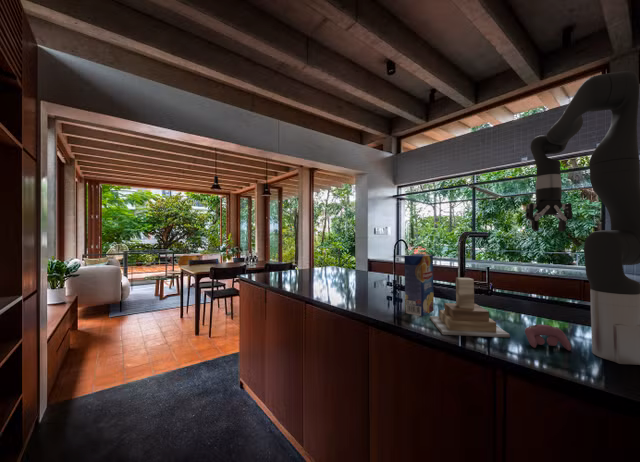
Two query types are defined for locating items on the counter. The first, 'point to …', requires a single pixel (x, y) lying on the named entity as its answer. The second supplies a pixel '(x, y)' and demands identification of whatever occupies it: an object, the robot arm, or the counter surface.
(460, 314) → the platform
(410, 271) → the juice carton
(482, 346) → the counter surface
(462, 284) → the birch block
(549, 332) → the video game controller
